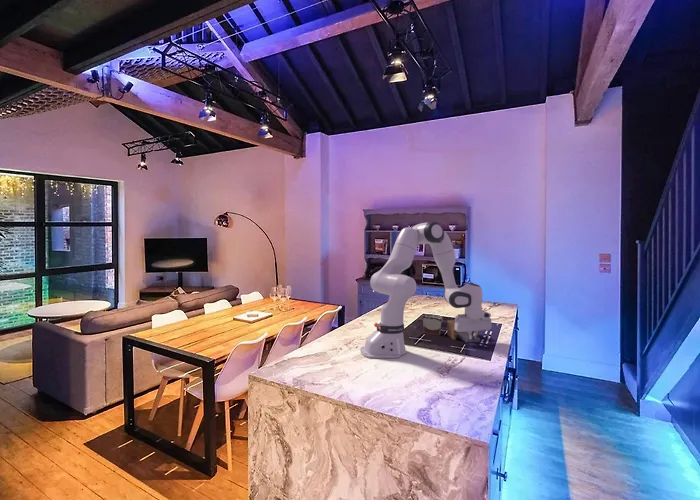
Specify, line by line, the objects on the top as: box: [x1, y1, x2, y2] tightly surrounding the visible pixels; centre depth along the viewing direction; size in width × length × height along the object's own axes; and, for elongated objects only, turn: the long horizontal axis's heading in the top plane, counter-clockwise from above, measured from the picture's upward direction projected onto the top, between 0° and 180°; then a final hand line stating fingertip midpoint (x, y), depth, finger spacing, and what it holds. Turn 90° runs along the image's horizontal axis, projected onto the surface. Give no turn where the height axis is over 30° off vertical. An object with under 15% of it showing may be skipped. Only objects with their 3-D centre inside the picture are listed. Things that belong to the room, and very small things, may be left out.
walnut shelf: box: [446, 319, 480, 340], centre depth 204 cm, size 15×8×8 cm, turn 102°
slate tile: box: [456, 332, 481, 343], centre depth 201 cm, size 8×12×2 cm, turn 12°
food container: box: [421, 313, 444, 336], centre depth 211 cm, size 12×6×10 cm, turn 58°
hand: (472, 338), depth 195 cm, fingers closed
